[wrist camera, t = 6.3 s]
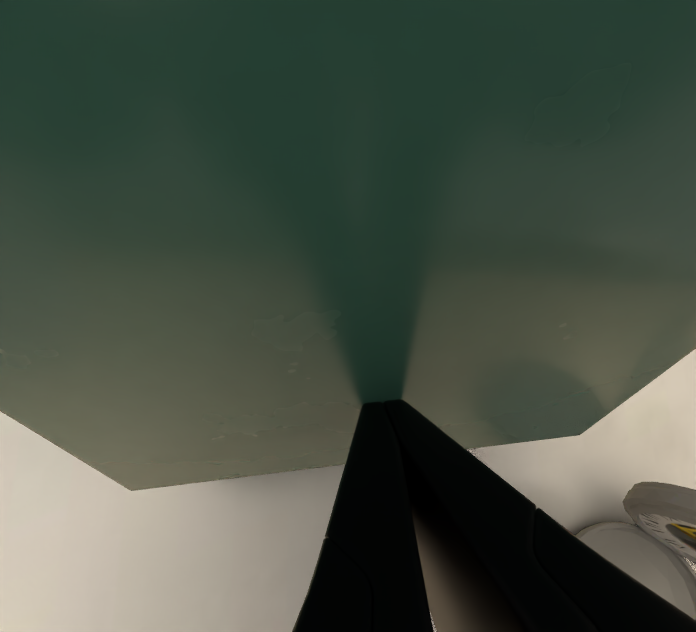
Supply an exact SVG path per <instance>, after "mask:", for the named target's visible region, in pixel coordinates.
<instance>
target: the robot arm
mask: <svg viewBox="0 0 696 632" xmlns="http://www.w3.org/2000/svg"><path fill="white" fill-rule="evenodd" d="M429 609H430V610H429ZM430 612H431V615H432V618H433V621H434V624H435V627H436V630H437V632H696V620H695V619H693V618H692V617H690V616H689V615H687V614H686V613H684V612H683V611H681V610H680V609H678V608H677V607H675V606H674V605H673V604H671V603H670V602H668V601H667V600H665V599H664V598H662V597H661V596H659V595H658V594H656V593H655V592H653V591H652V590H650V589H649V588H648V587H646V586H645V585H643V584H642V583H640V582H639V581H637V580H636V579H634V578H633V577H631V576H630V575H628V574H627V573H626V572H624V571H623V570H621V569H620V568H619V567H617V566H616V565H614V564H613V563H611V562H610V561H609V560H607V559H606V558H604V557H603V556H602V555H600V554H599V553H597V552H596V551H594V550H593V549H592V548H590V547H589V546H588V545H586V544H585V543H584V542H582V541H581V540H580V539H579V538H577V537H576V536H575V535H573V534H572V533H571V532H569V531H568V530H567V529H565V528H564V527H563V526H561V525H560V524H559V523H558V522H556V521H555V520H554V519H553V518H551V517H550V516H549V515H548V514H546V513H545V512H544V511H543V510H541V509H540V508H537V509H536V506H535V504H534V503H532V502H531V501H530V500H529V499H527V498H526V497H525V496H524V495H522V494H521V493H520V492H519V491H517V490H516V489H515V488H514V487H512V486H511V485H510V484H509V483H507V482H506V481H505V480H504V479H502V478H501V477H500V476H499V475H497V474H496V473H495V472H494V471H492V470H491V469H490V468H488V467H487V466H486V465H485V464H483V463H482V462H481V461H480V460H478V459H477V458H476V457H475V456H473V455H472V454H471V453H470V452H468V451H467V450H466V449H465V448H463V447H462V446H461V445H460V444H458V443H457V442H456V441H455V440H453V439H452V438H451V437H450V436H448V435H447V434H446V433H445V432H443V431H442V430H441V429H440V428H438V427H437V426H436V425H435V424H433V423H432V422H431V421H430V420H428V419H427V418H426V417H425V416H423V415H422V414H421V413H420V412H418V411H417V410H416V409H415V408H413V407H412V406H411V405H410V404H408V403H407V402H406V401H404V400H402V399H398V400H389V401H385V402H384V403H382V402H370V403H364V404H363V405H362V407H361V411H360V414H359V418H358V421H357V425H356V428H355V432H354V435H353V439H352V442H351V446H350V449H349V453H348V457H347V460H346V464H345V467H344V471H343V474H342V478H341V481H340V485H339V488H338V492H337V495H336V499H335V502H334V506H333V510H332V513H331V517H330V520H329V524H328V527H327V531H326V534H325V539H324V540H323V544H322V547H321V551H320V554H319V558H318V561H317V564H316V567H315V571H314V574H313V577H312V580H311V583H310V586H309V589H308V592H307V595H306V598H305V600H304V603H303V605H302V608H301V610H300V613H299V616H298V618H297V621H296V623H295V626H294V628H293V631H292V632H433V627H432V621H431V616H430Z"/></svg>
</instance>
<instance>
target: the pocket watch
mask: <svg viewBox="0 0 696 632" xmlns="http://www.w3.org/2000/svg"><path fill="white" fill-rule="evenodd" d="M623 504H624V507H625V510H626V512H627V513H628V514H629V515H630V516H631V517H632V519H633V520H634V521H635V522H636V523H635V524H636V525H637V526H636V525H632V524H628V523H623V522H603V523H598V524H595V525H592V526H589V527H587V528H584V529H583V530H581V531H580V532H579V533H578V534H576V535H575V536H576V537H577V538H579V539H580V540H581V541H582V542H584V543H585V544H586V545H588V546H589V547H590V548H592V549H593V550H594V551H596V552H597V553H599V554H600V555H602V556H603V557H604V558H606V559H607V560H609V561H610V562H611V563H613V564H614V565H616V566H617V567H619V568H620V569H621V570H623V571H624V572H626V573H627V574H628V575H630V576H631V577H633V578H634V579H636V580H637V581H639V582H640V583H642V584H643V585H645V586H646V587H648V588H649V589H650V590H652V591H653V592H655V593H656V594H658V595H659V596H661V597H662V598H664V599H665V600H667V601H668V602H670V603H671V604H673V605H674V606H675V607H677V608H678V609H680V610H681V611H683V612H684V613H686V614H687V615H689V616H690V617H692V618H693V619H695V620H696V573H695V572H694V571H693V569H692V568H691V566H690V565H689V563H688V562H687V561H686V560H685V558H687V559H688V560H690V561H692V562H694V563H696V490H694V489H690V488H685V487H681V486H677V485H672V484H666V483H658V482H641V483H638V484H634V486H633V487H632V489H631V490H629V491H628V493H627V495H626V497H625V499H624V501H623ZM684 557H685V558H684Z"/></svg>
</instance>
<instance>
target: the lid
mask: <svg viewBox="0 0 696 632" xmlns="http://www.w3.org/2000/svg"><path fill="white" fill-rule="evenodd" d="M694 349H696V0H0V411H1V412H2V413H4V414H6V415H7V416H9V417H11V418H12V419H14V420H16V421H17V422H19V423H20V424H22V425H24V426H25V427H27V428H29V429H30V430H32V431H34V432H35V433H37V434H39V435H40V436H42V437H43V438H45V439H47V440H48V441H50V442H52V443H53V444H55V445H57V446H58V447H60V448H61V449H63V450H65V451H66V452H68V453H70V454H71V455H73V456H75V457H76V458H78V459H80V460H81V461H83V462H84V463H86V464H88V465H89V466H91V467H93V468H94V469H96V470H98V471H99V472H101V473H103V474H104V475H106V476H107V477H109V478H111V479H112V480H114V481H116V482H117V483H119V484H121V485H122V486H124V487H126V488H127V489H129V490H131V491H134V490H142V489H150V488H158V487H166V486H174V485H182V484H190V483H198V482H206V481H214V480H222V479H230V478H239V477H247V476H255V475H263V474H271V473H279V472H287V471H295V470H303V469H311V468H319V467H327V466H335V465H343V464H346V460H347V457H348V453H349V449H350V446H351V442H352V439H353V435H354V432H355V428H356V425H357V421H358V418H359V414H360V411H361V407H362V405H363V404H364V403H370V402H382V403H384V402H385V401H389V400H398V399H402V400H404V401H406V402H407V403H408V404H410V405H411V406H412V407H413V408H415V409H416V410H417V411H418V412H420V413H421V414H422V415H423V416H425V417H426V418H427V419H428V420H430V421H431V422H432V423H433V424H435V425H436V426H437V427H438V428H440V429H441V430H442V431H443V432H445V433H446V434H447V435H448V436H450V437H451V438H452V439H453V440H455V441H456V442H457V443H458V444H460V445H461V446H462V447H463V448H465V449H471V448H479V447H487V446H495V445H503V444H512V443H520V442H528V441H536V440H544V439H552V438H560V437H568V436H576V435H580V434H582V433H583V432H584V431H586V430H587V429H588V428H590V427H591V426H592V425H594V424H595V423H596V422H598V421H599V420H600V419H602V418H603V417H604V416H606V415H607V414H608V413H610V412H611V411H612V410H614V409H615V408H616V407H618V406H619V405H620V404H622V403H623V402H625V401H626V400H627V399H629V398H630V397H631V396H633V395H634V394H635V393H637V392H638V391H639V390H641V389H642V388H643V387H645V386H646V385H647V384H649V383H650V382H651V381H653V380H654V379H655V378H657V377H658V376H659V375H661V374H662V373H663V372H665V371H666V370H667V369H669V368H670V367H671V366H673V365H674V364H675V363H677V362H678V361H679V360H681V359H682V358H684V357H685V356H686V355H688V354H689V353H690V352H692V351H693V350H694Z"/></svg>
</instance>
